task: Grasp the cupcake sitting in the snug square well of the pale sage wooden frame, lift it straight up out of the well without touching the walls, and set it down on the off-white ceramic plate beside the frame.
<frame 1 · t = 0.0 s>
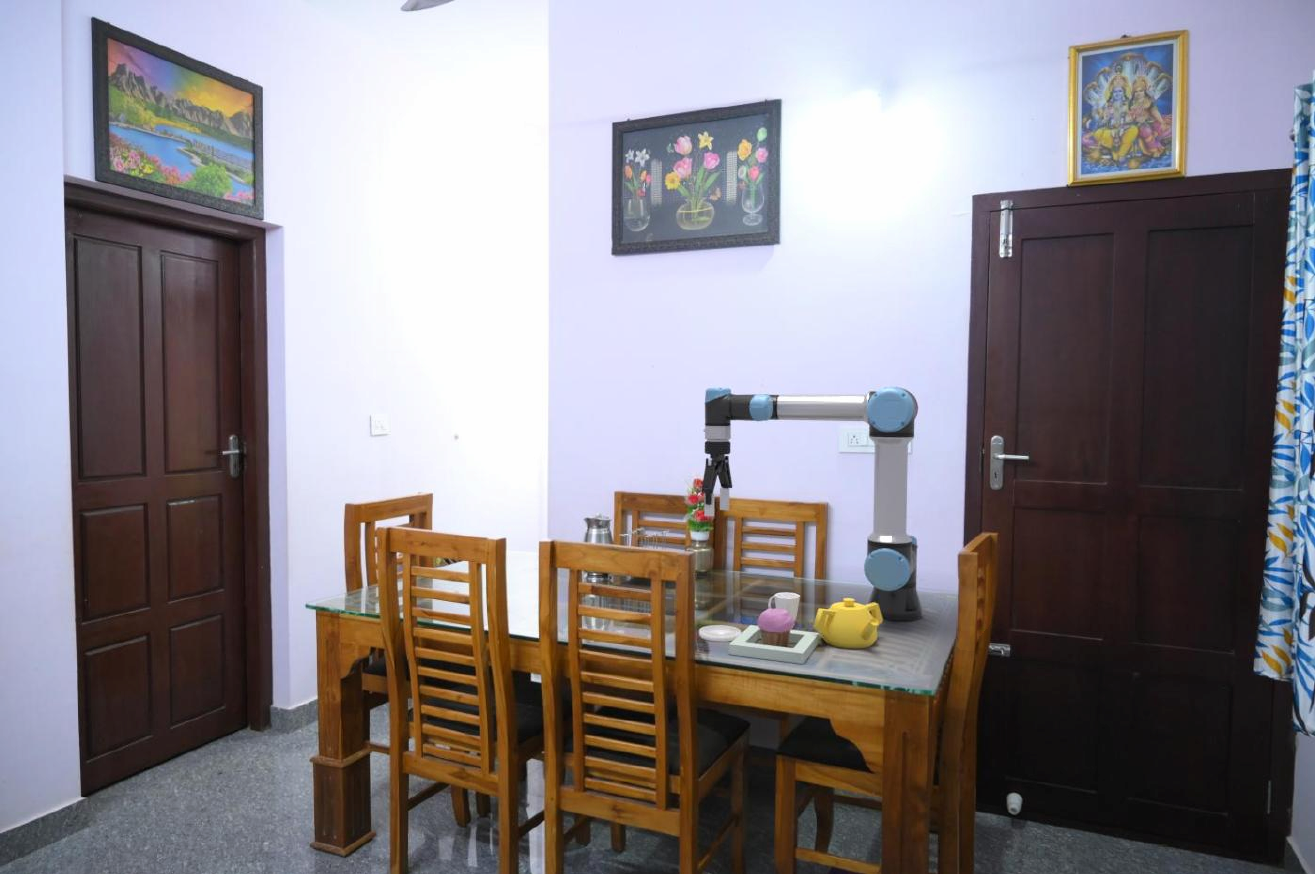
hand: (717, 512, 240), 28 cm above the table, fingers open, 13 cm apart
teapot: (853, 644, 207), on the table
frame: (775, 648, 202), on the table
plate: (720, 635, 213), on the table
cupcake: (775, 649, 202), resting in frame
cup: (782, 623, 225), on the table
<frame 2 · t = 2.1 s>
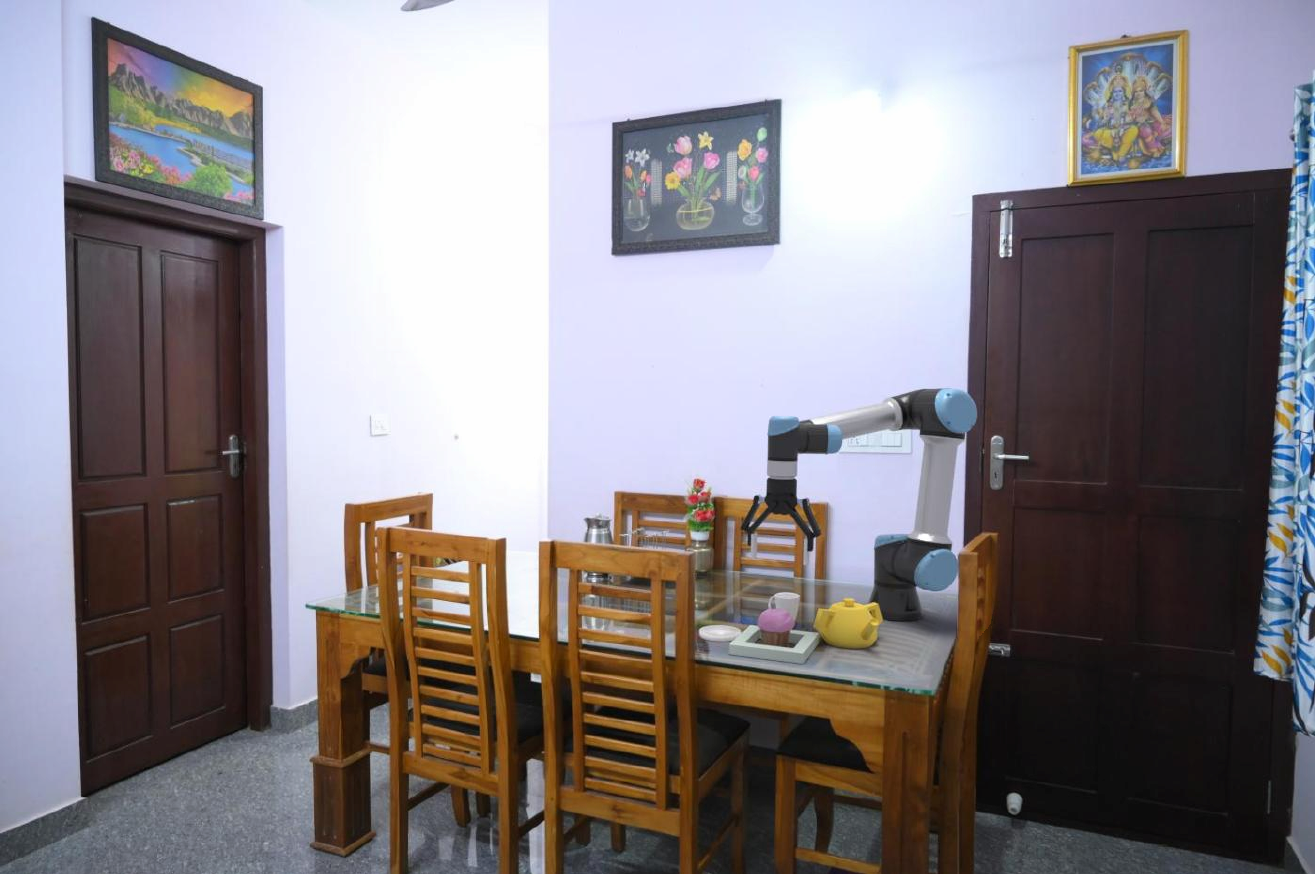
hand: (779, 561, 207), 21 cm above the table, fingers open, 13 cm apart
nothing on the table moved.
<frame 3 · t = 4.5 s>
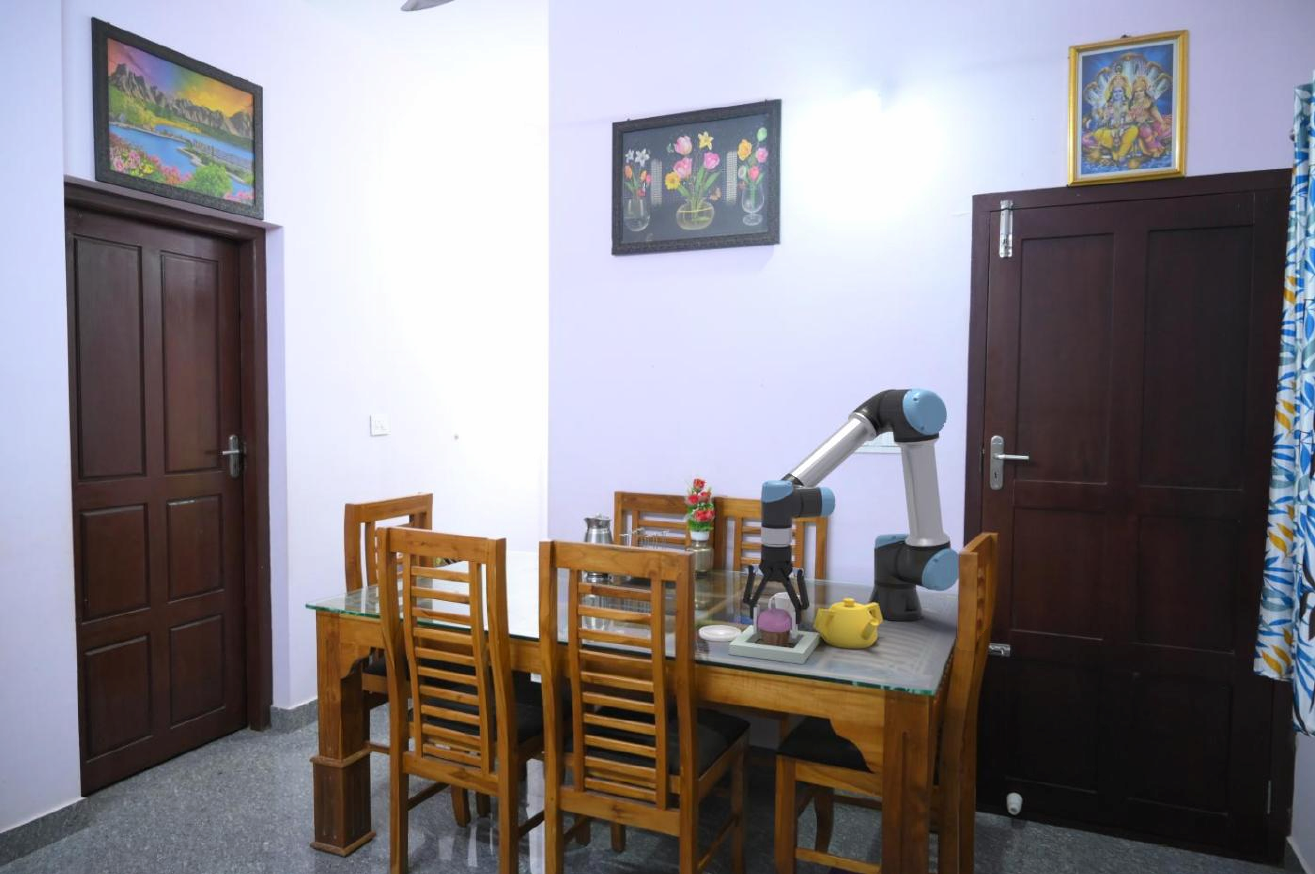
hand: (775, 634, 202), 3 cm above the table, fingers closed on cupcake, 9 cm apart
cupcake: (774, 649, 203), resting in frame, touching gripper
everything else where it was.
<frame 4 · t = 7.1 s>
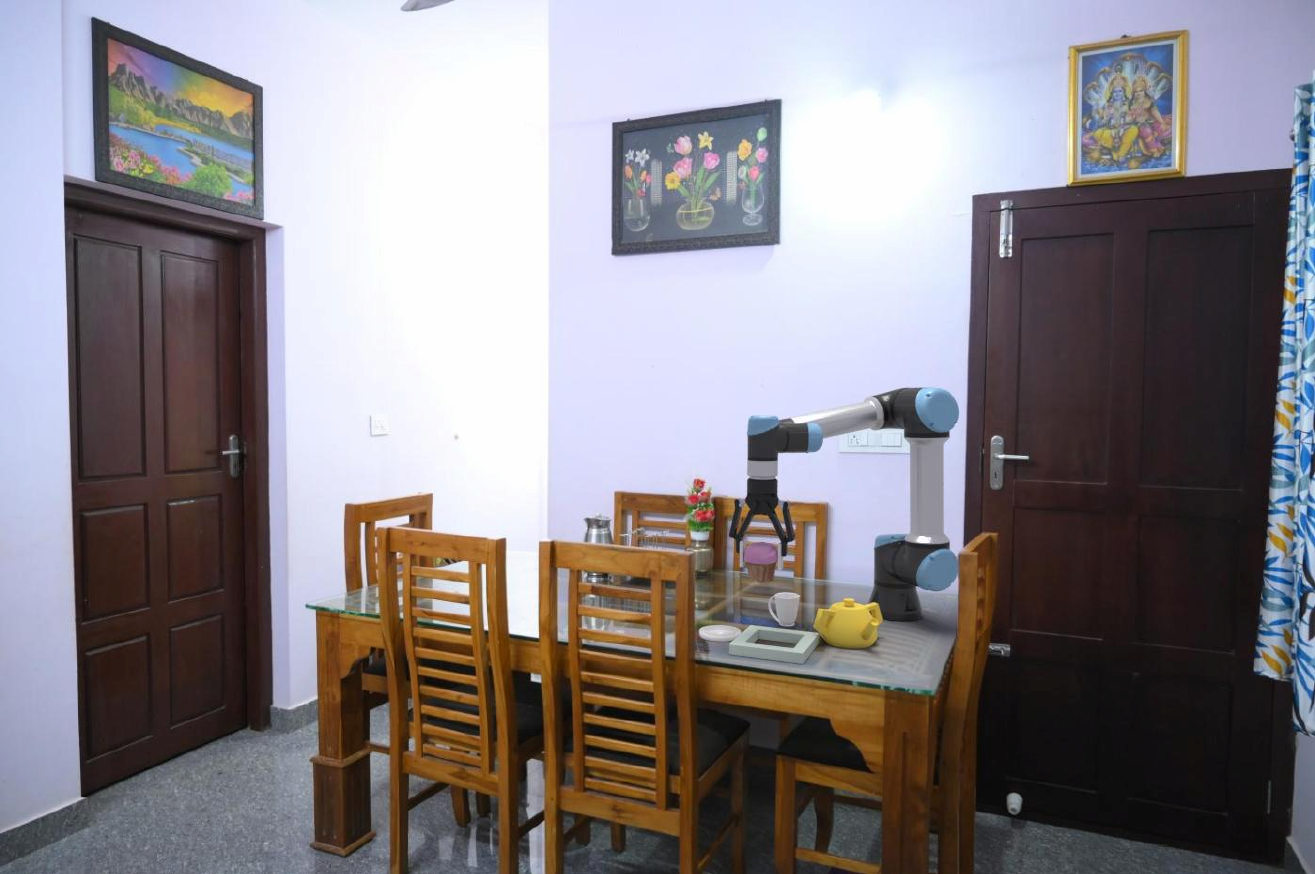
hand: (761, 567, 204), 20 cm above the table, fingers closed on cupcake, 9 cm apart
cupcake: (760, 582, 204), point 16 cm above the table, touching gripper
everything else where it was.
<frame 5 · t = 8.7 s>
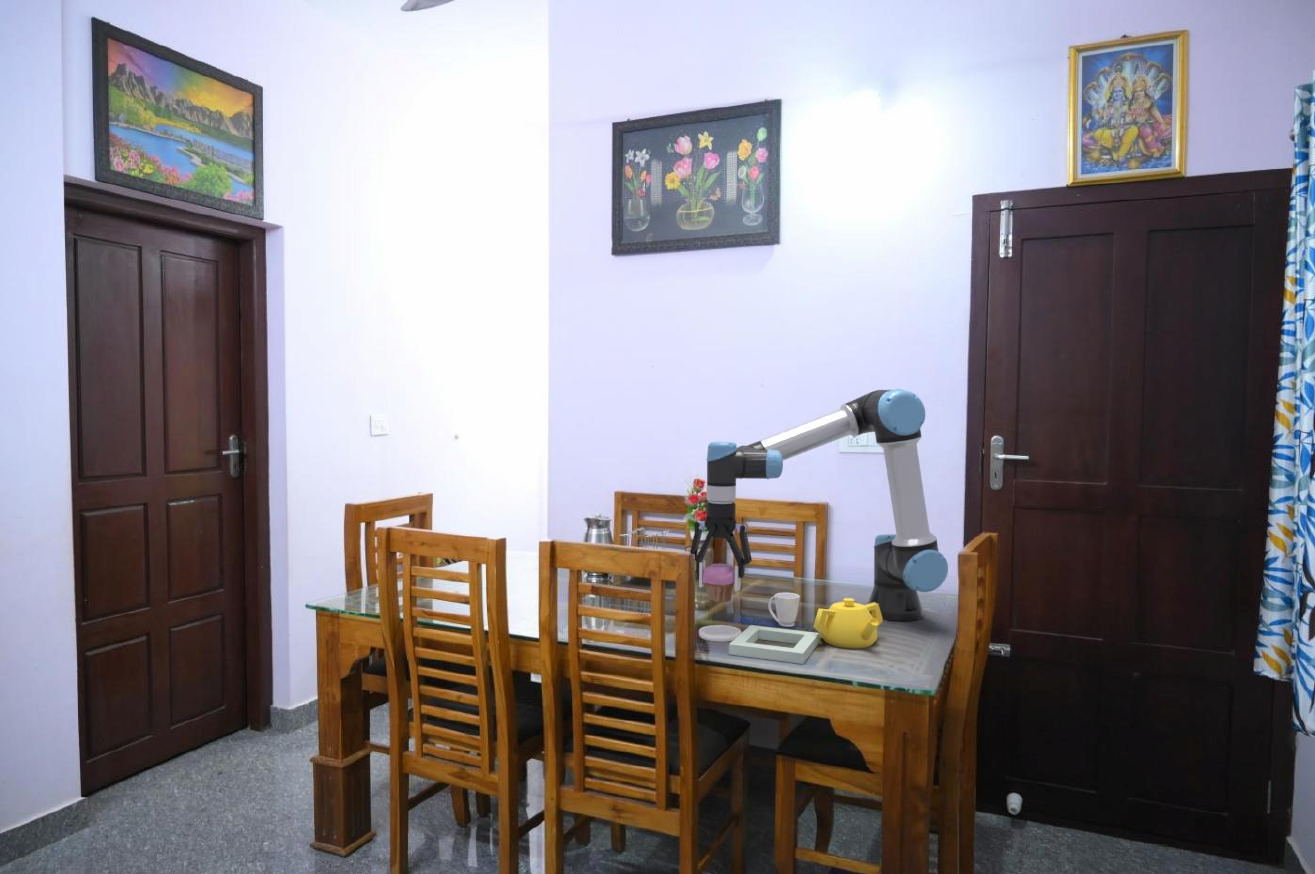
hand: (719, 588, 213), 12 cm above the table, fingers closed on cupcake, 9 cm apart
cupcake: (719, 602, 213), point 9 cm above the table, touching gripper
everything else where it was.
when the fingers open (6 cm above the table, at t = 9.9 s): cupcake drops 1 cm, resting on plate.
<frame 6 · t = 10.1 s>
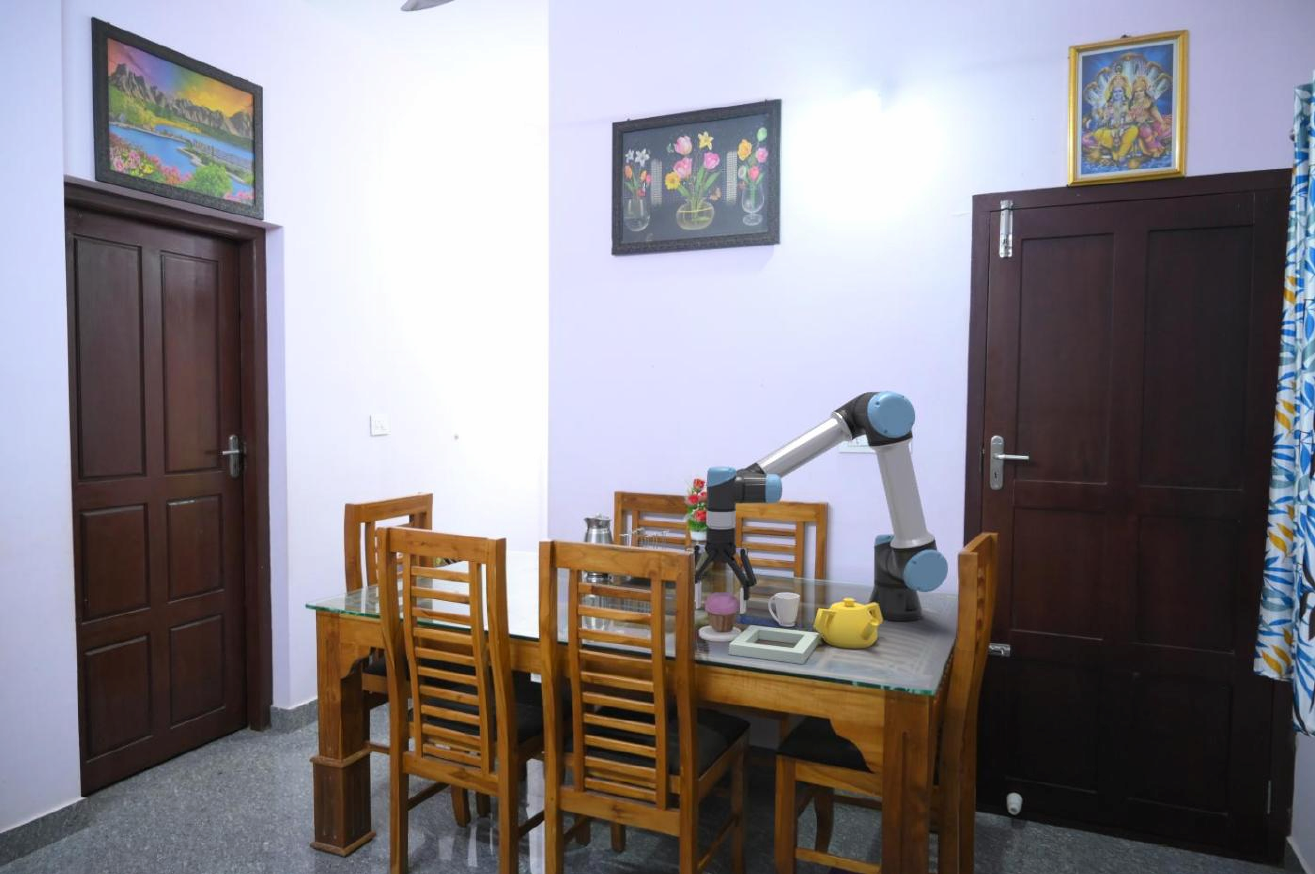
hand: (720, 609, 213), 7 cm above the table, fingers open, 11 cm apart
cupcake: (721, 631, 213), point 1 cm above the table, touching plate
everything else where it was.
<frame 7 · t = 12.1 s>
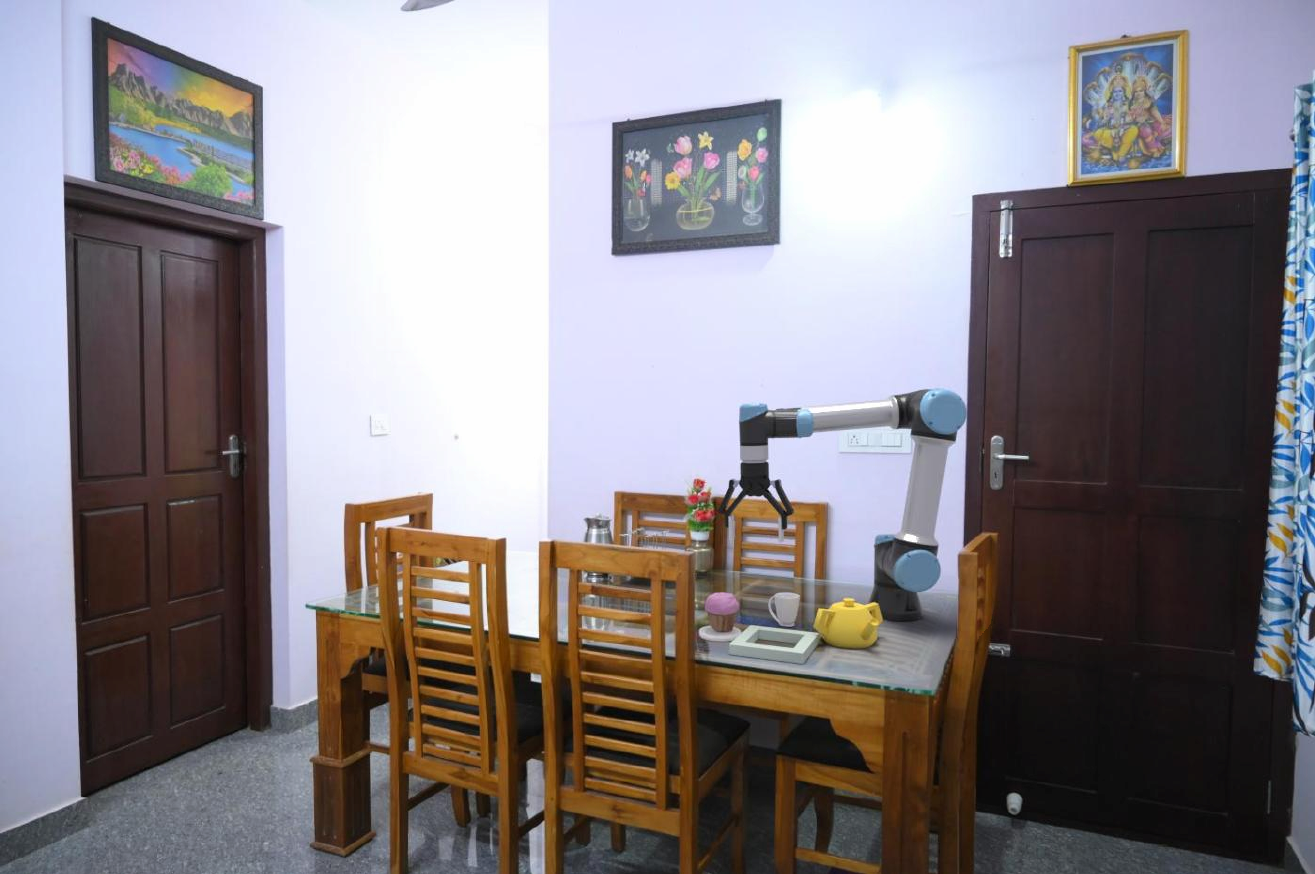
hand: (756, 540, 219), 24 cm above the table, fingers open, 13 cm apart
nothing on the table moved.
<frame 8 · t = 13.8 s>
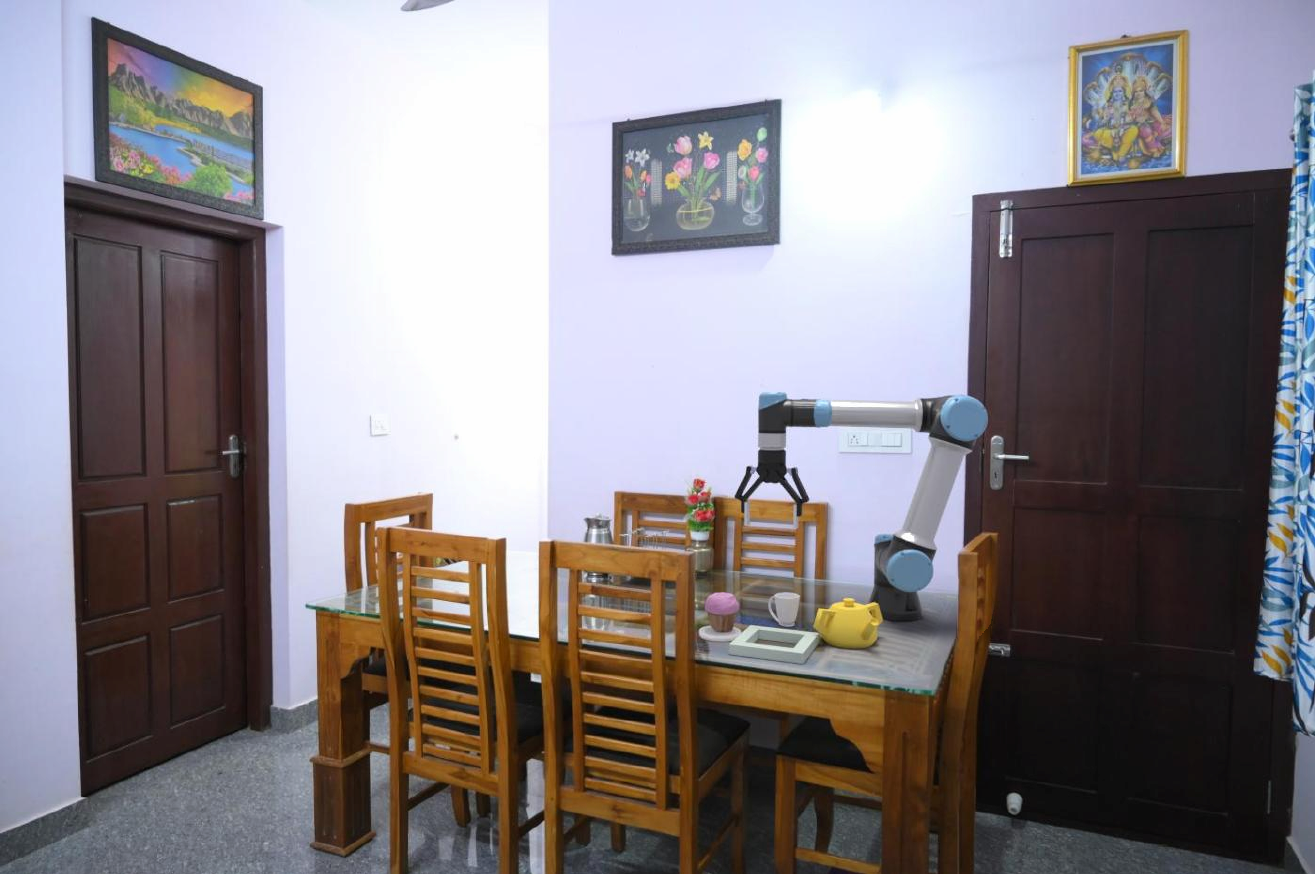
hand: (771, 526, 223), 27 cm above the table, fingers open, 13 cm apart
nothing on the table moved.
at the end: cupcake 0.3 cm from the plate (horizontally); cupcake touching plate; cupcake tilted 0° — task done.
